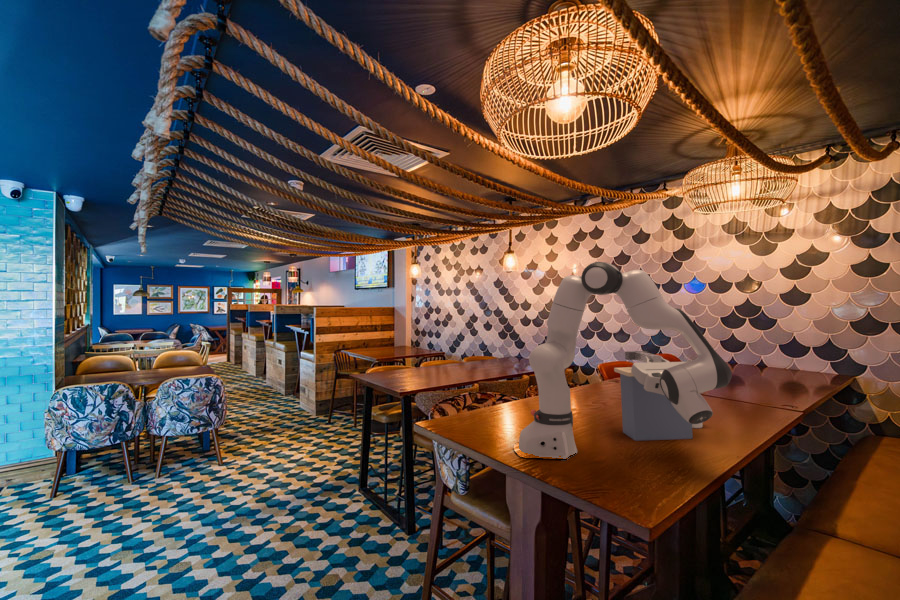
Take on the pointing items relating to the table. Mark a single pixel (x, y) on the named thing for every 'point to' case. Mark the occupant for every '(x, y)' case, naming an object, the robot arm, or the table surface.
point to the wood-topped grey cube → (649, 412)
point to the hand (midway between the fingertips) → (652, 357)
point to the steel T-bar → (642, 356)
